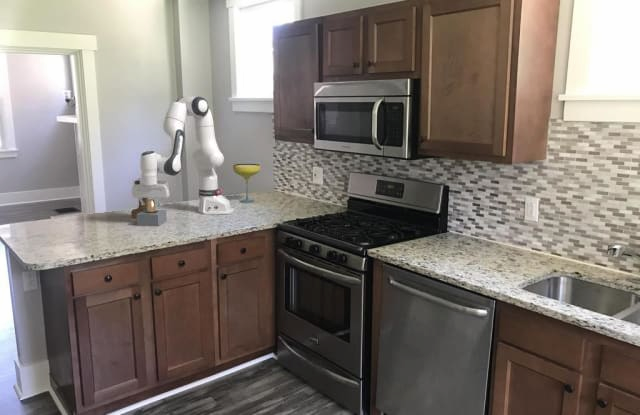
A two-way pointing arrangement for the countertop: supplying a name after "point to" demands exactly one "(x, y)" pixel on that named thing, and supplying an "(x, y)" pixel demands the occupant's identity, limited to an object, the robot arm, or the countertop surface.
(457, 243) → the countertop surface
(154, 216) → the hole holder
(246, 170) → the cocktail glass
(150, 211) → the brass pin
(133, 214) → the wooden block
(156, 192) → the robot arm
